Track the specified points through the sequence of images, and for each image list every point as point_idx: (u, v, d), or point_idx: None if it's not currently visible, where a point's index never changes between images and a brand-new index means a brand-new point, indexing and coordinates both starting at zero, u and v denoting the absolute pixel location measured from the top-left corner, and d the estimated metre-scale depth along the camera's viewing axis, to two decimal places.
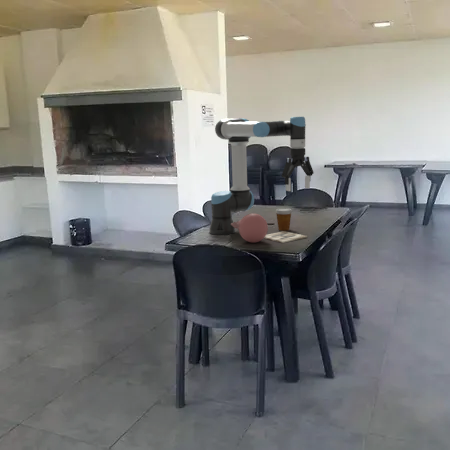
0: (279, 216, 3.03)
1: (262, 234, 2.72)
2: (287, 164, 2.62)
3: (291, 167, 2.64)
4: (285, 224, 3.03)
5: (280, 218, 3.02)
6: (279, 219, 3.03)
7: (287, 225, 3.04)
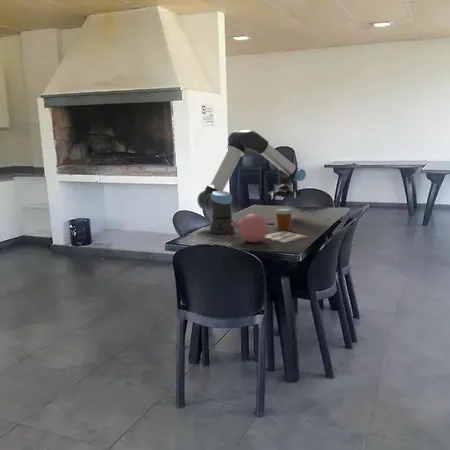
0: (279, 216, 3.03)
1: (262, 234, 2.72)
2: None
3: None
4: (285, 224, 3.03)
5: (280, 218, 3.02)
6: (279, 219, 3.03)
7: (287, 225, 3.04)
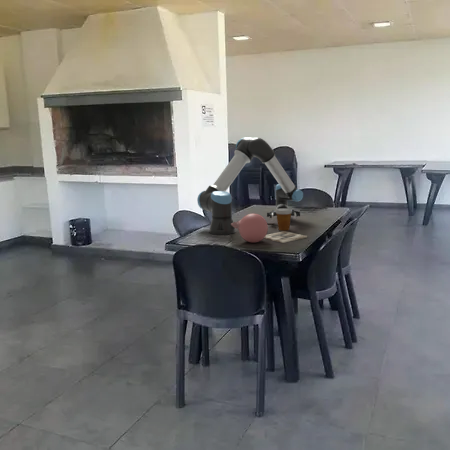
0: (279, 216, 3.03)
1: (262, 234, 2.72)
2: None
3: None
4: (285, 224, 3.03)
5: (280, 218, 3.02)
6: (279, 219, 3.03)
7: (287, 225, 3.04)
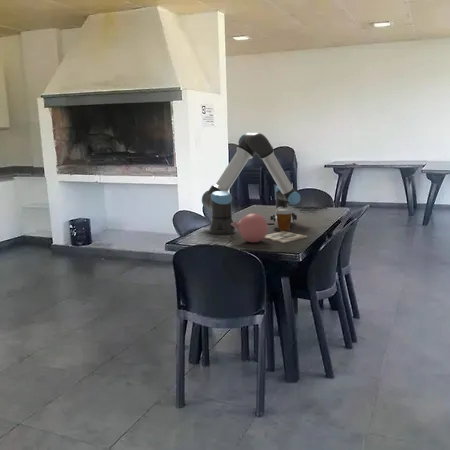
0: (279, 216, 3.03)
1: (262, 234, 2.72)
2: None
3: None
4: (285, 224, 3.03)
5: (280, 217, 3.02)
6: (279, 219, 3.03)
7: (287, 225, 3.04)
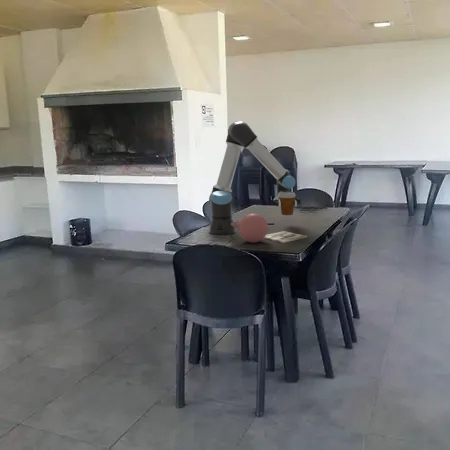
0: (283, 200, 2.89)
1: (262, 234, 2.72)
2: None
3: None
4: (289, 208, 2.89)
5: (284, 201, 2.88)
6: (282, 204, 2.89)
7: (291, 209, 2.90)
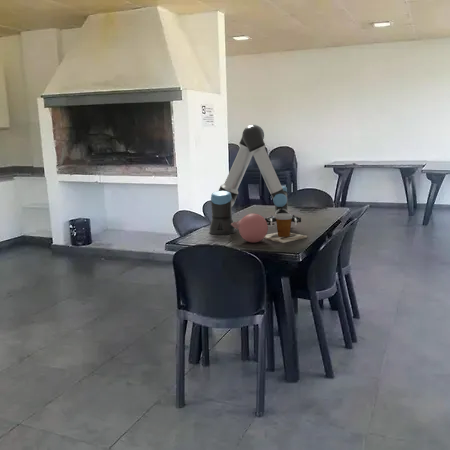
0: (279, 221, 2.83)
1: (262, 234, 2.72)
2: None
3: None
4: (285, 230, 2.83)
5: (280, 223, 2.82)
6: (279, 225, 2.83)
7: (287, 231, 2.84)
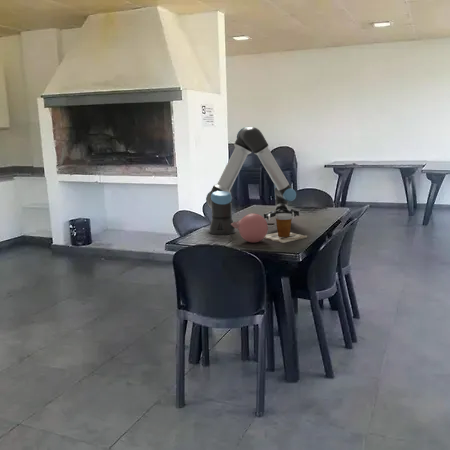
0: (279, 221, 2.83)
1: (262, 234, 2.72)
2: None
3: None
4: (285, 230, 2.83)
5: (280, 223, 2.82)
6: (279, 225, 2.83)
7: (287, 231, 2.84)
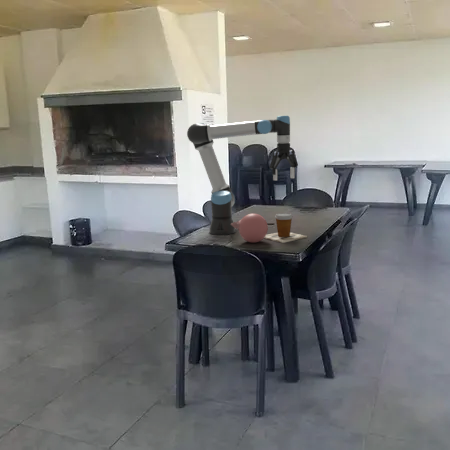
0: (279, 221, 2.83)
1: (262, 234, 2.72)
2: (274, 157, 3.01)
3: (278, 159, 3.03)
4: (285, 230, 2.83)
5: (280, 223, 2.82)
6: (279, 225, 2.83)
7: (287, 231, 2.84)
